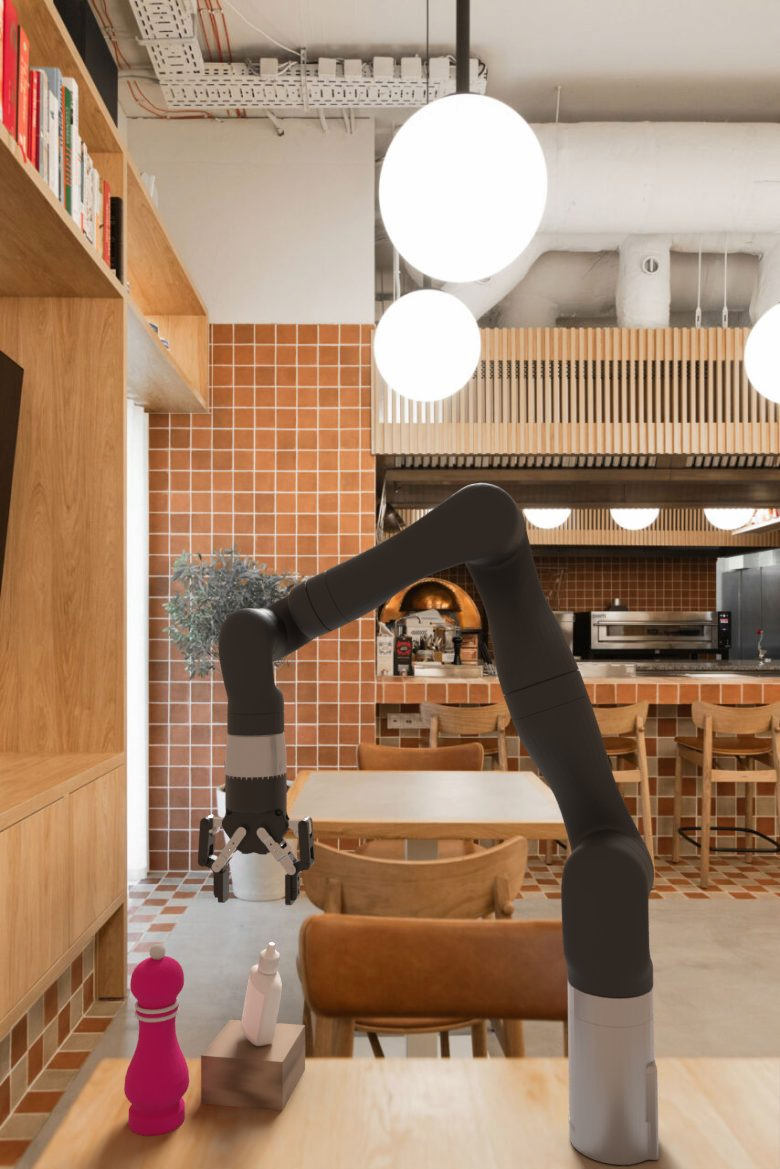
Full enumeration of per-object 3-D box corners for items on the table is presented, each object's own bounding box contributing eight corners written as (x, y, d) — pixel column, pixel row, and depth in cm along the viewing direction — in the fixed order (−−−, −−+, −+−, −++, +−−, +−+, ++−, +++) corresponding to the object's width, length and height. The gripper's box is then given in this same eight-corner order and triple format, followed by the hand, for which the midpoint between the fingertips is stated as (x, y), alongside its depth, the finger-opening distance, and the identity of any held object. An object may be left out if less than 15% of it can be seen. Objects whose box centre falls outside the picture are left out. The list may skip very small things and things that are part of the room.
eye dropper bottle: (235, 1044, 112) (250, 953, 110) (242, 1015, 117) (257, 928, 116) (271, 1050, 112) (287, 959, 110) (277, 1021, 118) (292, 934, 116)
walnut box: (305, 1073, 118) (305, 1025, 119) (282, 1114, 109) (282, 1061, 109) (229, 1067, 120) (229, 1019, 120) (201, 1107, 110) (201, 1055, 110)
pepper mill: (172, 1142, 102) (173, 957, 103) (112, 1135, 104) (113, 953, 104) (199, 1108, 109) (199, 935, 110) (142, 1102, 111) (142, 931, 112)
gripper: (319, 766, 118) (320, 895, 117) (211, 764, 120) (211, 891, 120) (304, 775, 111) (304, 914, 110) (189, 773, 113) (190, 909, 112)
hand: (256, 902), depth 115 cm, fingers open, 8 cm apart
